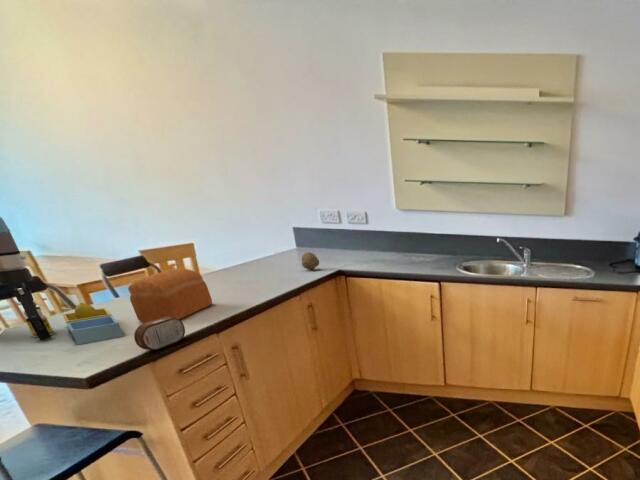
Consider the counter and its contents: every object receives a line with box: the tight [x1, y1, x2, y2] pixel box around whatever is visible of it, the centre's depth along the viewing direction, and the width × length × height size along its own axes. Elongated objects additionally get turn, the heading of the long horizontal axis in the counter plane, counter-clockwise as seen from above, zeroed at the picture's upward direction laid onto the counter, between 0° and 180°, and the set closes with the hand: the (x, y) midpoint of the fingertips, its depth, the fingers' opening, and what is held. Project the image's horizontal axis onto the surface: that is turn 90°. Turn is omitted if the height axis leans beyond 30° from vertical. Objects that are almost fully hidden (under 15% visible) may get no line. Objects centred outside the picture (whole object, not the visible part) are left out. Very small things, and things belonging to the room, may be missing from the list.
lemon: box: [74, 302, 98, 319], centre depth 144 cm, size 6×6×8 cm
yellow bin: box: [61, 307, 113, 324], centre depth 145 cm, size 11×11×5 cm
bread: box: [127, 268, 213, 323], centre depth 159 cm, size 14×26×16 cm, turn 2°
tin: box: [133, 317, 186, 351], centre depth 130 cm, size 15×3×8 cm, turn 171°
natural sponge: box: [301, 251, 320, 271], centre depth 236 cm, size 9×9×10 cm
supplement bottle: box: [22, 308, 54, 338], centre depth 136 cm, size 5×5×8 cm
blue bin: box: [66, 315, 125, 345], centre depth 137 cm, size 11×11×5 cm
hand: (44, 334), depth 138 cm, fingers open, 12 cm apart
